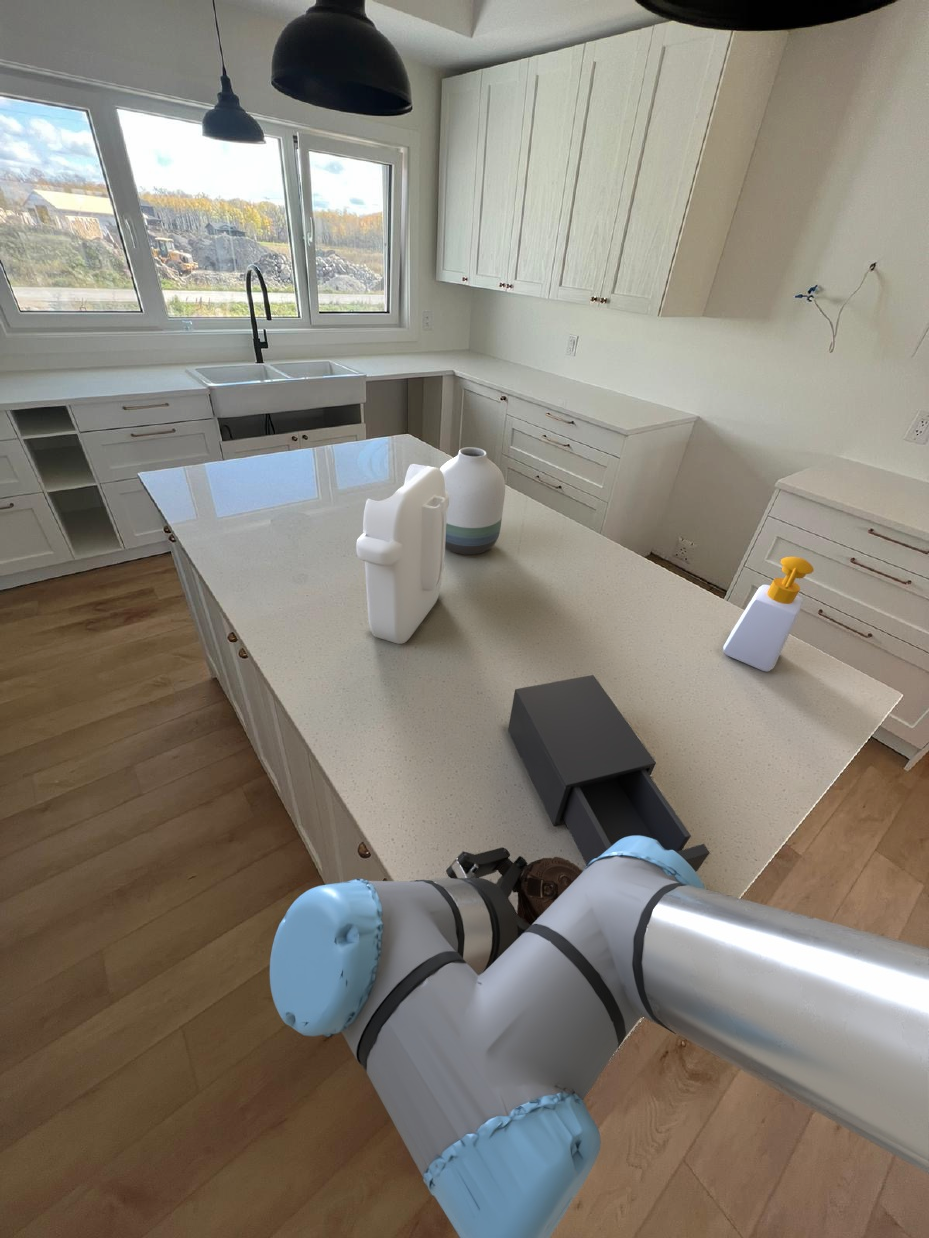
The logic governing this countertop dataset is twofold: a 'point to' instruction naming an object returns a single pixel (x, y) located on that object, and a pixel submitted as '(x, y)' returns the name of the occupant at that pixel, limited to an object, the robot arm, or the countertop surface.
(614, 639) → the countertop surface
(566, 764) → the black drawer box
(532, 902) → the coffee cup
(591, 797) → the grey drawer with handle
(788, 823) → the countertop surface
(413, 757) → the countertop surface
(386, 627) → the white jerry can
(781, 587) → the soap bottle
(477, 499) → the vase
